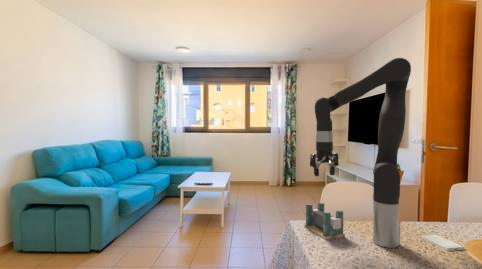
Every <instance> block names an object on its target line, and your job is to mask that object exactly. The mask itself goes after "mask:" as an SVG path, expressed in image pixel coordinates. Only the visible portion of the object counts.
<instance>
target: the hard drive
mask: <svg viewBox="0 0 482 269" xmlns="http://www.w3.org/2000/svg"><path fill="white" fill-rule="evenodd" d="M419 239H422V240H424V241H425V242H428V243H430V244H432V245H433V246H436V247H438V248H440V249H443V250H444V251H447V252H451V251H463V250H464V247H465V246H463V245H460V244H458V243H457V242H454V241H452V240H449V239H447V238H445V237H442V236H440V235H438V234H434V233H433V234H422V235H420V236H419Z"/></svg>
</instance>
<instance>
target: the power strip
mask: <svg viewBox="0 0 482 269" xmlns="http://www.w3.org/2000/svg"><path fill="white" fill-rule="evenodd" d="M313 223H314V224H316V225H318V226H320V227H321V228H323V212H322V211H319V210H318V208H316V206H313ZM331 226H333V229H338V228H341V219H340V218H336V216H334V215H331Z"/></svg>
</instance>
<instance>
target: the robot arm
mask: <svg viewBox="0 0 482 269" xmlns="http://www.w3.org/2000/svg"><path fill="white" fill-rule="evenodd" d="M411 72H412V66H411V63H410V62H409V60H408V59H406V58H404V57H396V58H393V59H391V60H389V61H388V62H387V63H385V64H383V65H382V66H380V67H379V68H378V69H376V70H374V71H373V72H371V73H370V74H368V75H366V76H364V77H363V78H361V79H359V80H357V81H355V82H353V83H351V84H348V85H346V86H345V87H343V88H341V89H339V90H337V91H335V92H334V94H333V95H331V96H328V97H320V98H318V99H317V100H316V101H315V103H314V114H315V120H316V133H315V134H316V135H315V150H316V153H310V158H309V167H311V168H313V175H314V176H315V177H319V176H320V171H319V170H320V169H319V168H320V166H321V165H322V164H326V163H327V164H328V165H329V176H334V175H335V172H336V167H338V166H339V164H340V163H339V154H338V153H337V152H333V151H334V133H333V120H332V119H331V112H334V111H336V110H337V109H339V108H341V107H342V106H344V105H347V104H349V103H351V102H354V101H356V100H357V99H360V98H362V96H363V97H364V95H366V94H367V93H369V92H371V91H372V90H374V89H377V88H379V87H380V86H384V85H385V89H384V90H385V91H384V92H385V94H384V97H383V102H382V104H381V108H380V112H379V119H378V126H377V128H378V129H377V154H376V158H375V163H374V167H373V171H372V174H373V194H372V195H373V196H372V202H373V203H372V204H373V205H372V208H373V209H372V213H373V214H372V215H373V216H372V242H373V243H374V244H376V245H377V246H379V247H384V248H389V249H396V248H398V247H399V246H400V245H401V221H400V197H401V173H400V171H399V169H398V154H399V149H400V145H401V142H402V139H403V135H404V132H405V126H406V125H405V124H406V113H407V112H406V94H407V88H408V84H409V83H408V82H409V79H410V77H411Z"/></svg>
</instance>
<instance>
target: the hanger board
mask: <svg viewBox="0 0 482 269" xmlns="http://www.w3.org/2000/svg"><path fill="white" fill-rule="evenodd" d="M313 207H314V205H313V204H312V203H308V204H305V224H304V228H306V229H308V230H309V231H311V232H312V231H313V233H315V234H316V235H318V236H319V237H321V238H322V239H324V240H327V241H328V240H333V239H338V238H344V237H345V236H346V234H345V233H344V210H341V209H340V210H335V218H340V219H341V228H338V229H333V226H331V216H332V215H331V214H332V213H331V211H325V202H318V203H317V210H319V211H322V212H323V228H321V227H320V226H318V225H316V224H314V223H313Z"/></svg>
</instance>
